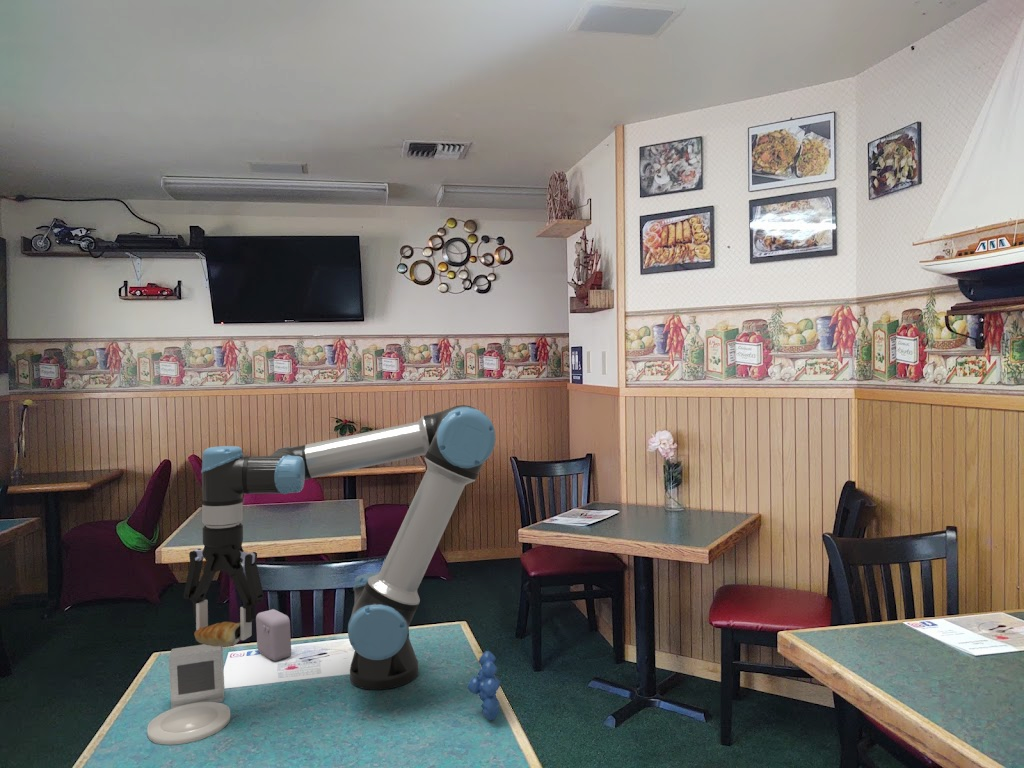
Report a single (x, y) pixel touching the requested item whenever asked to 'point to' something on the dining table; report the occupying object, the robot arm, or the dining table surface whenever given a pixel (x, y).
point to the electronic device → (273, 634)
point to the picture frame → (196, 675)
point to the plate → (188, 723)
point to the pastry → (219, 634)
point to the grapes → (487, 685)
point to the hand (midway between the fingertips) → (224, 635)
